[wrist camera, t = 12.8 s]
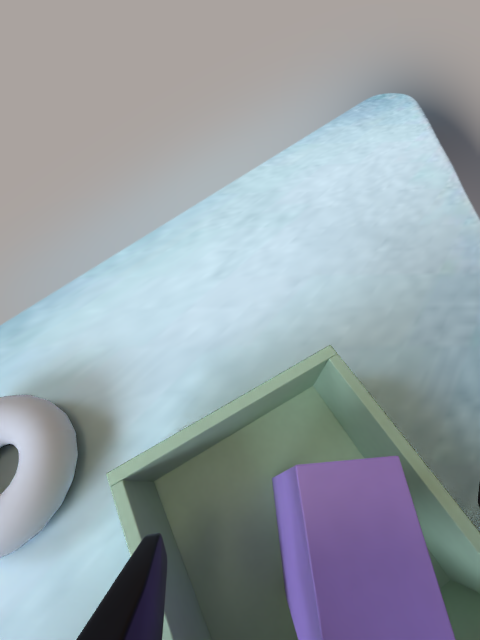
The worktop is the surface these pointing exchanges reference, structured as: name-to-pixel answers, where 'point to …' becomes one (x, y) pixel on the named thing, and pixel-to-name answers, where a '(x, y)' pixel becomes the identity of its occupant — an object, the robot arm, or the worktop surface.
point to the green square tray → (259, 505)
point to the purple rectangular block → (356, 554)
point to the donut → (34, 466)
